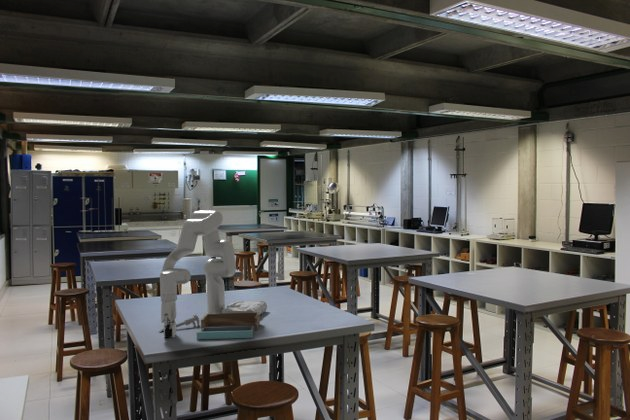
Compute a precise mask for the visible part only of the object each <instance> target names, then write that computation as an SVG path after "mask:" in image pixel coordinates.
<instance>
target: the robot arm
mask: <svg viewBox="0 0 630 420" xmlns="http://www.w3.org/2000/svg"><path fill="white" fill-rule="evenodd" d="M223 217H224V216H223V214H222V213H221V212H220V211H219V210H196V211H192V213H191V214H190V218H189V219H186V220H184V222H183V224H182V228H181V231H180V235H179V238H178V242H177V245H176V247H175V248H174V249H173V250H172V251H171V252H170V253H169V254H168V255H167V257H166V258H165V260H164V262H163V265H162V269H161V272H160V273H159V290H160V291H159V293H160V302H161V308H160V310H161V311H160V314H161V315H160V322H161V323H162V324H163V326H164V325H165V337H172V328H171V323H175V322H176V321H175V320H176V319H177V301H178V285H185V284H187V283H189V282H190V280H191V278H192V273H191V272H190V271H189V269H187V268H181V267H180V268H177V267H176V268H175V265H176V264H177V263H178V261H180V260H181V259H182V258H184V257H186V256H188V255H190V254H192V253H194V251H195V248H196V244H197V241H198V237H200V236H202V238H203V248H204V253H205V255H206V256H208V257H211V258H209V259H208V260H206V261H205V262H204V266H203V270H204V274H205V281H206V308H207V311H206V314H217V313H222V310H223V309H226V301H225V300H226V298H225V297H226V296H225V294H226V293H225V283H224V279H223V278H222V277H224V278H225V277H226V278H227V277H228V278H229V277H234V275H235V274H236V270H237V268H236V265H237V264H236V256H235V248H234V244H233V243H232V241H231V240H229V239H221V237H220V233H219V229H218V228H219V227H220V226H221V224H222V223H223V219H224V218H223ZM168 323H170V325H169V324H168Z"/></svg>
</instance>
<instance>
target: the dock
mask: <svg viewBox="0 0 630 420" xmlns="http://www.w3.org/2000/svg"><path fill="white" fill-rule="evenodd" d="M260 319H261V318H260V315H259V312H252V313H217V314H207V313H205V314H204V316H202V318H201V319H200V327H201V328H200V331H201V330H202V328H203V327H224V326H254V331H258V330H259V327H260V324H261V321H260Z"/></svg>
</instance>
